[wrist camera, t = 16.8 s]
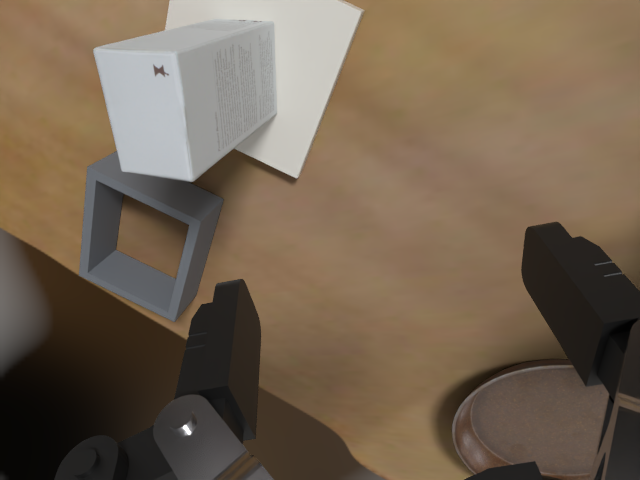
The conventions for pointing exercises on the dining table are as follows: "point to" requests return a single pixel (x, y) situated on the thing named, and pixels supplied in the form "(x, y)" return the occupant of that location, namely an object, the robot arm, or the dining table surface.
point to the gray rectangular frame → (129, 273)
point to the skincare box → (188, 94)
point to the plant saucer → (532, 420)
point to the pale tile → (288, 66)
